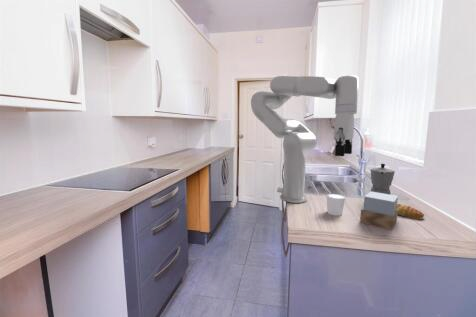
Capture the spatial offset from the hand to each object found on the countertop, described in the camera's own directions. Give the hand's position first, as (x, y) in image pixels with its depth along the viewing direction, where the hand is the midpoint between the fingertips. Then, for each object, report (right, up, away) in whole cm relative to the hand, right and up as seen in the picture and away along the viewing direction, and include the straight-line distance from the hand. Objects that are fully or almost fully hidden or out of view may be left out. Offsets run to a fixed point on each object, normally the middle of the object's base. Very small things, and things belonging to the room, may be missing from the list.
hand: (343, 154), depth 92 cm
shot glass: (-2, -24, +3) cm, 24 cm away
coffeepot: (+24, -22, +18) cm, 37 cm away
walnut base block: (+10, -25, -5) cm, 27 cm away
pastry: (+26, -24, +2) cm, 35 cm away
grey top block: (+11, -20, -6) cm, 23 cm away
